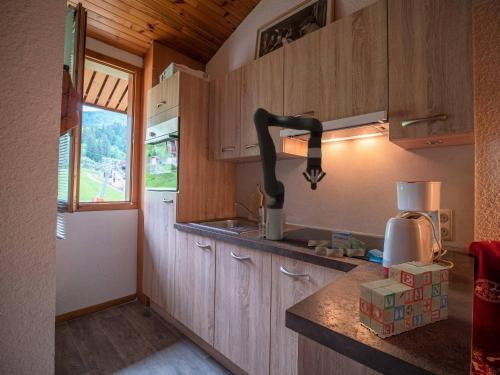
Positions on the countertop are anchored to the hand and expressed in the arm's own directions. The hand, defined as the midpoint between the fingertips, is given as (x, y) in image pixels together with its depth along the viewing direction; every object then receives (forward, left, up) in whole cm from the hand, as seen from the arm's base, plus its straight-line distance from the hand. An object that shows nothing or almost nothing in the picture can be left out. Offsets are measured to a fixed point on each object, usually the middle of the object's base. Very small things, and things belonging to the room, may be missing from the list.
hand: (313, 189), depth 130 cm
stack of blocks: (+1, -75, -29) cm, 80 cm away
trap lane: (+6, -17, -28) cm, 33 cm away
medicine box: (+10, -15, -28) cm, 34 cm away
